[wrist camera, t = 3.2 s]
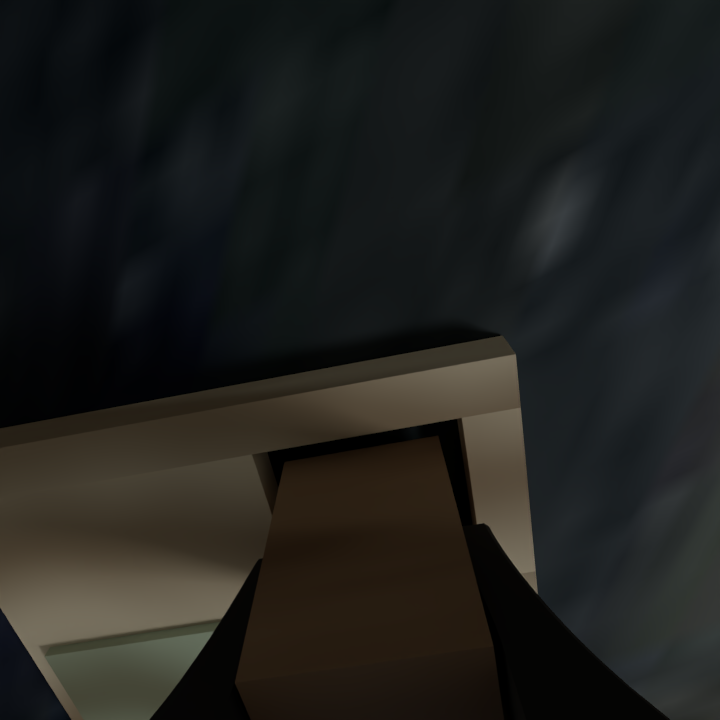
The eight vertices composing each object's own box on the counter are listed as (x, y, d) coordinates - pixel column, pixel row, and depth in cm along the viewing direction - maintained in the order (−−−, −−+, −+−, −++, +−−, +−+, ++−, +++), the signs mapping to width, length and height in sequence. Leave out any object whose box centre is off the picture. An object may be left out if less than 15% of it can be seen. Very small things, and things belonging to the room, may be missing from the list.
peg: (457, 555, 15) (515, 802, 9) (319, 577, 15) (297, 828, 10) (438, 435, 13) (493, 645, 8) (284, 461, 14) (234, 683, 8)
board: (539, 703, 19) (553, 748, 17) (132, 757, 20) (115, 804, 18) (502, 335, 13) (519, 359, 12) (-57, 438, 14) (-101, 471, 13)
